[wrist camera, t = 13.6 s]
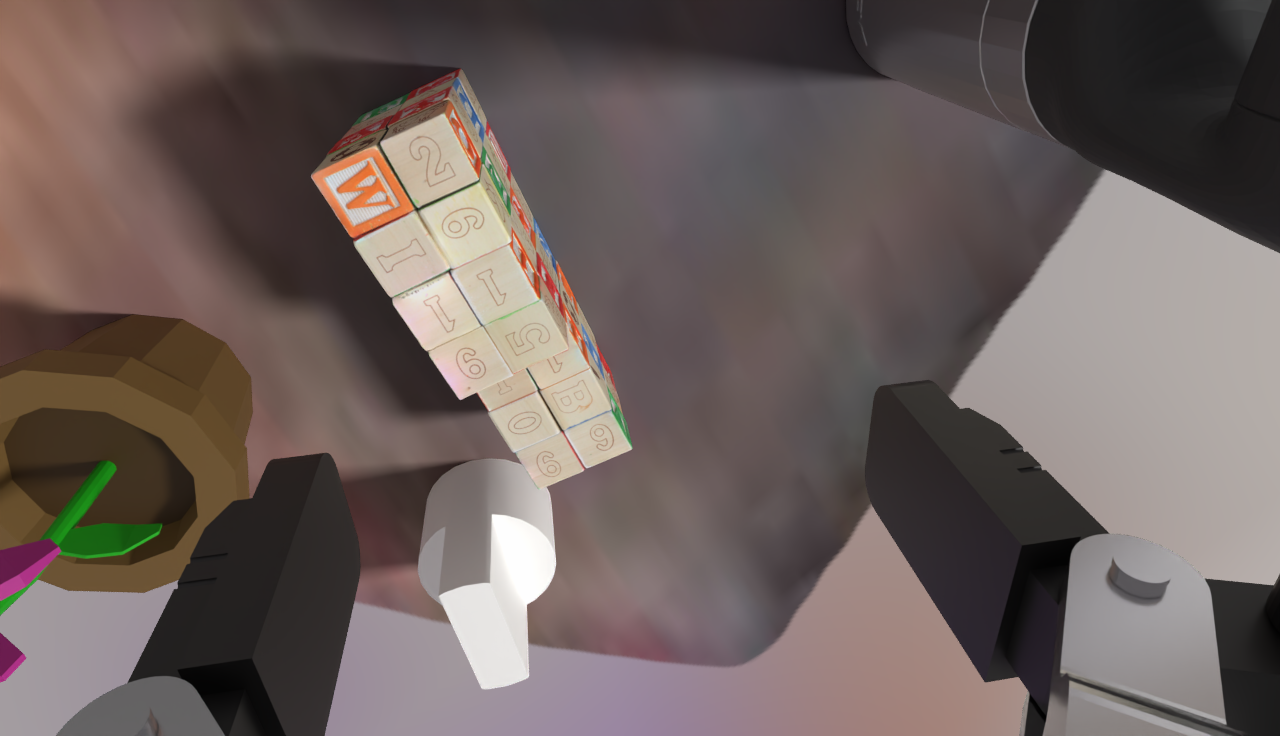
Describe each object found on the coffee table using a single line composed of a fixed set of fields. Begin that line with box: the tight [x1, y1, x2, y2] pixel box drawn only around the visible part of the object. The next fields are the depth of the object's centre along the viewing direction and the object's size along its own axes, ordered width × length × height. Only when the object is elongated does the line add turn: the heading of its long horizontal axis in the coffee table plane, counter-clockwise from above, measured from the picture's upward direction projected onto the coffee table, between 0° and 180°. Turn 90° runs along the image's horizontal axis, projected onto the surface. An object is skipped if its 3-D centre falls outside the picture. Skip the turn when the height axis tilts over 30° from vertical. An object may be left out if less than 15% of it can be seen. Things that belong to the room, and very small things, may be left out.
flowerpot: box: [0, 314, 253, 682], centre depth 35 cm, size 14×14×30 cm
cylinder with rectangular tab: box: [418, 458, 556, 689], centre depth 51 cm, size 9×9×12 cm
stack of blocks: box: [311, 69, 632, 490], centre depth 42 cm, size 21×6×12 cm, turn 22°
